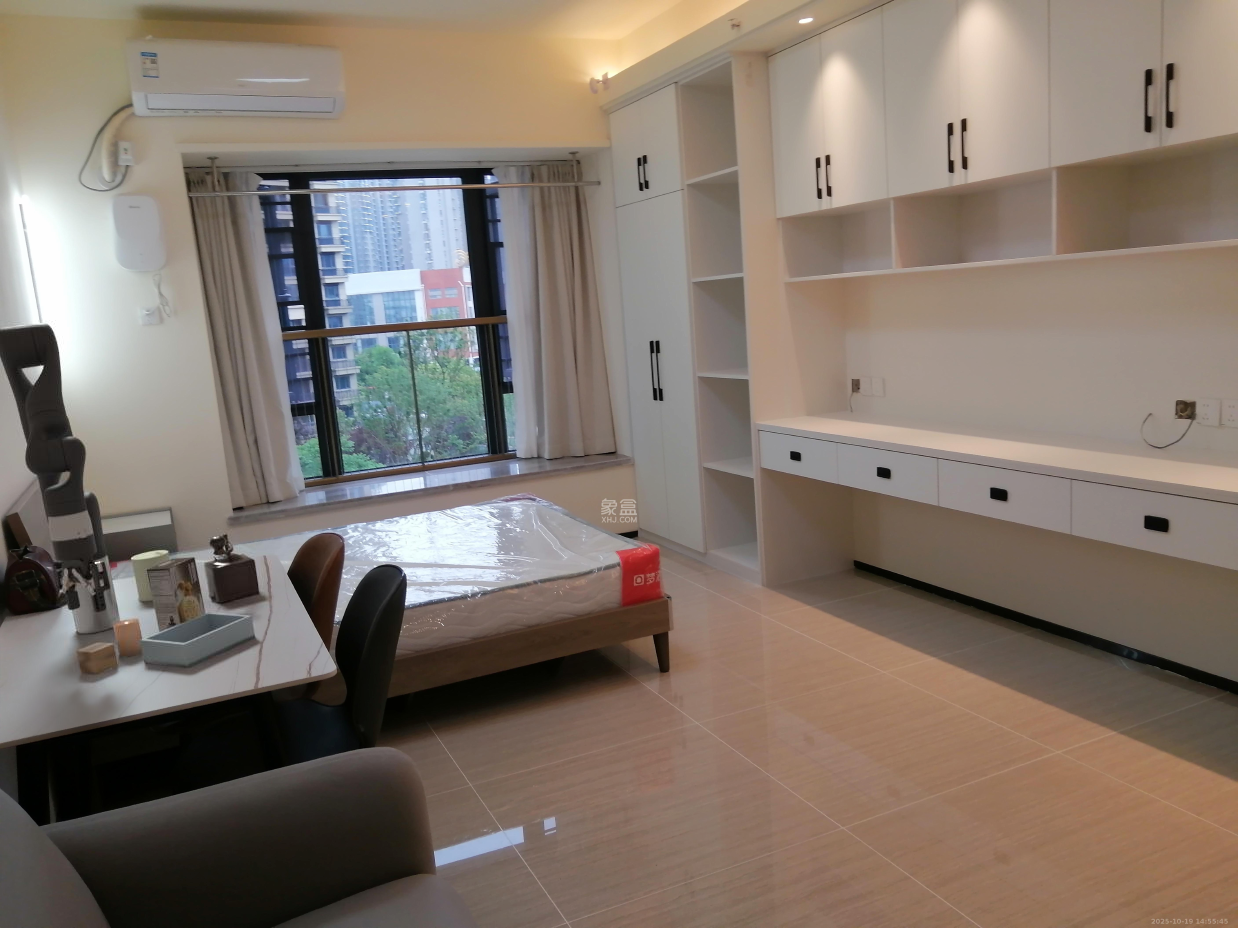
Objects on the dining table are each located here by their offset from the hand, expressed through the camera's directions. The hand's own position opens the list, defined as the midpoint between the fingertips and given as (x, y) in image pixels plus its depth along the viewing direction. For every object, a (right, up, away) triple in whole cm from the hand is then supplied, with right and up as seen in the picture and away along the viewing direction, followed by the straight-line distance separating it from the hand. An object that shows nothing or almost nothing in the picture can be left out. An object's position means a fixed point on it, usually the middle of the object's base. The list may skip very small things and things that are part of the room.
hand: (87, 609), depth 193 cm
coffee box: (+8, -8, +25) cm, 28 cm away
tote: (+20, -10, +8) cm, 24 cm away
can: (-14, -5, +57) cm, 59 cm away
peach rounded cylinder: (+4, -11, +11) cm, 16 cm away
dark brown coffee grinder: (+12, -4, +47) cm, 49 cm away
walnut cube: (+1, -13, +2) cm, 13 cm away
